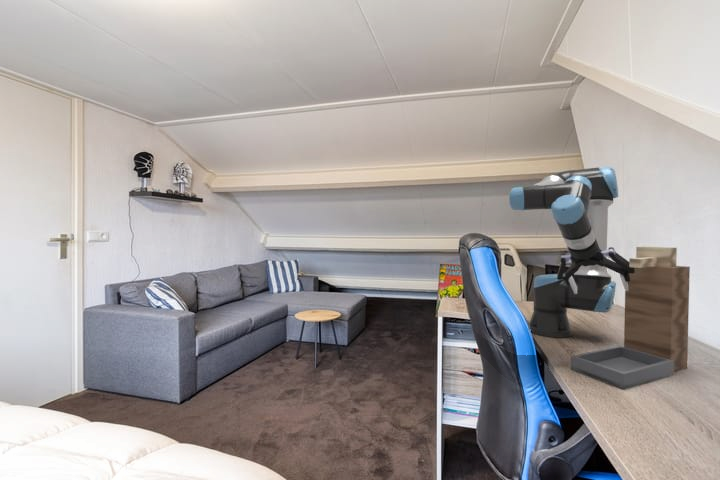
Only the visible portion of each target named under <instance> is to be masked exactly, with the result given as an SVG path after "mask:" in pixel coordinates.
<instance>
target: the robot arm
mask: <svg viewBox="0 0 720 480" xmlns="http://www.w3.org/2000/svg"><path fill="white" fill-rule="evenodd" d="M616 198H619V188H618V180H617V175H616V171H615V169H614V168H613V167H611V166H603V167H600V166H599V167H591V168H590V167H589V168H583V169H581V168H580V169H573V170H572V169H570V170H565V171H560V172H557V173H554V174H552V175H548V176H546V177H544V178H543V179H542V180H540V182H537V183H534V184H532V185H527V186H518V187H513V188H512V189H511V190H510V192H509V197H508V199H509V200H508V201H509V205H510V209H512V210H513V211H526V210H527V211H531V210H533V211H534V210H551V212H552V216H553V219H554V220H555V222H556V224H557V227H558V229H559V230H560V233H561V237H562V238H563V241H564V243H565V245H566V247H567V250H568V252H569V254H567V255H566V254H565V253H561V254H560V264H559V268H558V270H557V273H552V274H551V273H548V274H541V275H537V276H535V277H534V280H533V286H532V287H533V312H532V315H531V318H530V320H529V323H528V327H529V326H530V329H531V331H532V332H531V333H532V334H535V335H539V336H543V337H550V338H569V337H571V336H572V332H573V331H572V327H571V326H572V325H571V324H570V321H569V318H568V315H567V313H568V312H567V311H568V310H567V309H570V310H579V311H585V312H593V313H604V314H605V313H608V312H610V311H611V309H612V307H613V304H614V299H615V293H616V287H617V283H616V281H613V280H612V276H611V275H610V274H609V273H608V272H607V269H609V270H610V271H614V272H615V273H618V274H619V277H620V280H621V282H622V286H623V288H624V292H625V291H628V283H627V282H629V281H630V276H629V273H632V274H633V273H635V269H634V267H629V260H627V259H626V258H624V257H623V256H622V255H621V254H619V253H618V252H616V250H615V248H614V247H612V246H611V247H608V219H609V215H608V214H609V207H610V206H611V205H613V204H614V199H616ZM570 260H571V261H572V263H571V265H569V267H568V268H567V269H566V265H567V263H568V262H570ZM565 269H566V271H565Z"/></svg>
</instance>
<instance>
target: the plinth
mask: <svg viewBox="0 0 720 480" xmlns="http://www.w3.org/2000/svg"><path fill="white" fill-rule="evenodd" d="M634 269H635V273H633V274H632V273H629V276H630V281H629V282H627V283H628V291H625V290H624V327H623V328H624V331H623V332H624V338H623V341H624V342H623V347H626V348H630V349H634V350H637V351H641V352H644V353H648V354H652V355H655V356H659V357H662V358H666V359H670V360H673V361H674V373H675V372H679V371H683V370H686V369H688V355H689V354H688V352H689V349H688V348H689V346H688V345H689V313H690V312H689V311H690V310H689V309H690V308H689V306H690V304H689V303H690V272H691V271H690V270H691V269H690V266H687V265H685V266H684V265H676V266H675V267H660V266H654V267H644V268H634Z"/></svg>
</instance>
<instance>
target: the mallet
mask: <svg viewBox="0 0 720 480" xmlns="http://www.w3.org/2000/svg"><path fill="white" fill-rule="evenodd" d="M635 249H636V250H635V251H636V252H635V257H632V258H631V257H630V258H629V260H628V261H629V267H634V268H644V267H654V266H660V267H675V266H677V258H678V257H677V255H678V254H677V253H678V252H677V250H678V249H677V247H664V246H663V247H662V246H636V248H635Z"/></svg>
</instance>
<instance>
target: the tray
mask: <svg viewBox="0 0 720 480" xmlns="http://www.w3.org/2000/svg"><path fill="white" fill-rule="evenodd" d="M570 357H571V358H570V370H571V371H574V372H577V373H578V374H582V375H584V376H587V377H590V378H592V379H595V380H598V381H600V382H602V383H606V384H608V385H611V386H612V387H616V388H619V389H621V390H623V391H624V390H628V389H630V388H634V387H637V386H641V385H643V384H648V383H650V382H654V381H657V380H662V379H664V378H667V377H670V376H673V375H675V374H674V373H675V372H674V361H673V360H670V359H666V358H662V357H659V356H655V355H652V354H648V353H644V352H641V351H637V350H634V349H630V348H626V347H624V345H616V346H611V347H607V348H603V349H598V350H593V351H588V352H584V353H579V354H578V353H577V354H574V355H570Z"/></svg>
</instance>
